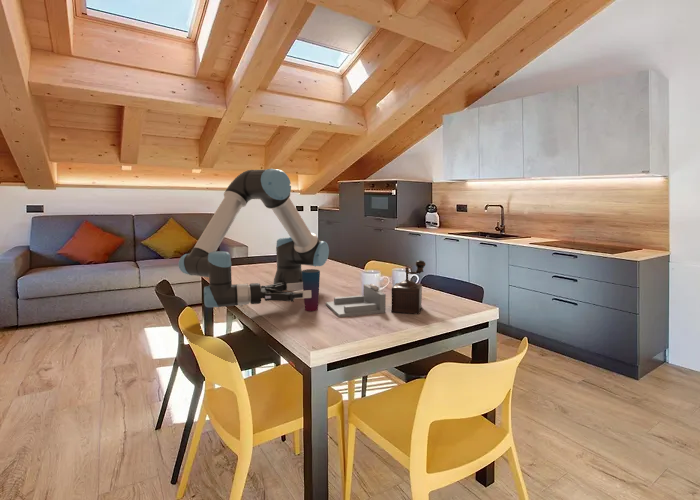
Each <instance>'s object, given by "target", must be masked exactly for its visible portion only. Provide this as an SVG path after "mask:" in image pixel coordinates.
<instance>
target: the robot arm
mask: <svg viewBox="0 0 700 500" xmlns="http://www.w3.org/2000/svg"><path fill="white" fill-rule="evenodd" d="M291 190H292V186H291V180H290V178H289V176H288V174H286V172H285V171H283V170H282V169H278V168H277V169H275V168H266V169H247V170H244V171H243V172H241V173H239V174H238V175H237V176H236V177H235V178H234V179H233V180H232V181H231V183H230V184H228V186H227V188H226V189H225V190H224V193H223V197H224V198H223V199H222V201H221V202H220V204H219V206H218V207H217V209H216V211H215V212H214V214H213V216H212V217H211V219H210V220H209V222H208V223H207V225H206V227H205V228H204V230H203V232H202V234H201V235H200V237H198V240H197V241H196V244H195V245H194V247H193V248H192V249H191V252H189V253H185V254H183V255H182V256H180V258H179V260H178V269H179V270H180V272H182V273H183V274H185V275H189V276H197V277H203V278H208V279H209V280H208V282H209V283H208V284H209V285H208V286H207V285H206V286H204V288H203V300H204V301H203V302H204V306H205V307H206V308H223V307H233V306H240V307H243V306H244V305H245V306H246V305H249V304H250V305H258V304H259V305H260V304H261V303H262V299H264V301H267V302H268V301H275V302H276V301H278V302H279V301H281V302H291V303H293V302H295V301H294V300H299V299H300V300H301V299H302V300H304V298H311V290H305V291H303V279H302V270H303V268H302V265H303V266H310V267H322V266H325V264H326V263H327V261H328V258H329V255H330V248H329V244H328V243H327V241H325V240H320V239H319V237H318V236H317V234H315V233H313V232H311V231H310V229H309V227H308V226H307V224H306V222H305V221H304V219H303V217H302V216H301V215H300V213H299V211H298V209H297V208H296V206H295V204H294V203H293V202H292V200H291V198H290V197H291ZM251 200H260V201H261V202H262V203H263V205H264V207H266V209H271V210H272V211H273V213H274V215H275V216H276V217H277V219H278V220H279V222H280V223H281V225H282V227H283V228H284V230H285V231H286V233H287V234H288V235H289V237H282V238H278V239H277V240H276V249H275V252H276V272H275V274H274V278H273V284H268V285H261V284H260V282H255V283H238V284H232V261H231V260H232V259H231V254H230V252H229V251H224V250H223V251H222V250H219V251H217V250H218V249H219V246H220V245H221V243H222V241H223V240H224V238H225V236H226V234H227V233H228V231H229V230H230V228H231V227H232V224H233V223H234V221H235V219H237V218H236V217H237V216H238V214H239V213H240V211H241V209H242V208H245V207H246V206H247V204H248V203H249V202H250V201H251Z"/></svg>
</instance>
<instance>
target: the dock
mask: <svg viewBox="0 0 700 500" xmlns="http://www.w3.org/2000/svg"><path fill="white" fill-rule="evenodd" d="M386 296H387V295H386V293H384V292H383V291H381V290H380V288H379V286H377V285H376V284H373V283H370V284H368V283H367V284H363V295H361V294H360V295H351V296H335V297H333V301H325V305H326V307H327V308H329V310H331V311H332V312H333V314H335V315H336V316H337V317H338V318H346V317H355V316H365V315H367V316H368V315H375V314H385V313H386Z"/></svg>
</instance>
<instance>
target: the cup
mask: <svg viewBox="0 0 700 500" xmlns="http://www.w3.org/2000/svg"><path fill="white" fill-rule="evenodd" d="M320 276H321V270H320V269H316V268H310V269H309V268H308V269H307V268H306V269H302V279H303V290H302V291H305V290H311V298H303V304H304V311H305V312H316V311H318V310H319V299H320V298H319V296H320V295H319V294H320V280H321V277H320Z"/></svg>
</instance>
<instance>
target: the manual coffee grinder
mask: <svg viewBox="0 0 700 500" xmlns="http://www.w3.org/2000/svg"><path fill="white" fill-rule="evenodd" d="M414 264H415V266H416V271H409V270H410V268H409V267H408V266H406V267H405V269H404V270H405V271H404V272H405V279H404V280H403V281H401V282H396V283H394V285H393V286H392V287H391V313H394V314H395V313H396V314H407V315H419V314H420V313H421V312H422V311H423V306H422V305H423V304H422V299H423V298H422V297H423V296H422V295H423V292H422V291H423V284H422V283H417V281H415V282H414V281H413V280H410V279H409V275H417V274H421V273H424V268H425V266H426V262H425V261H423V260H421V259H420V260H416V261H415V263H414Z"/></svg>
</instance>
